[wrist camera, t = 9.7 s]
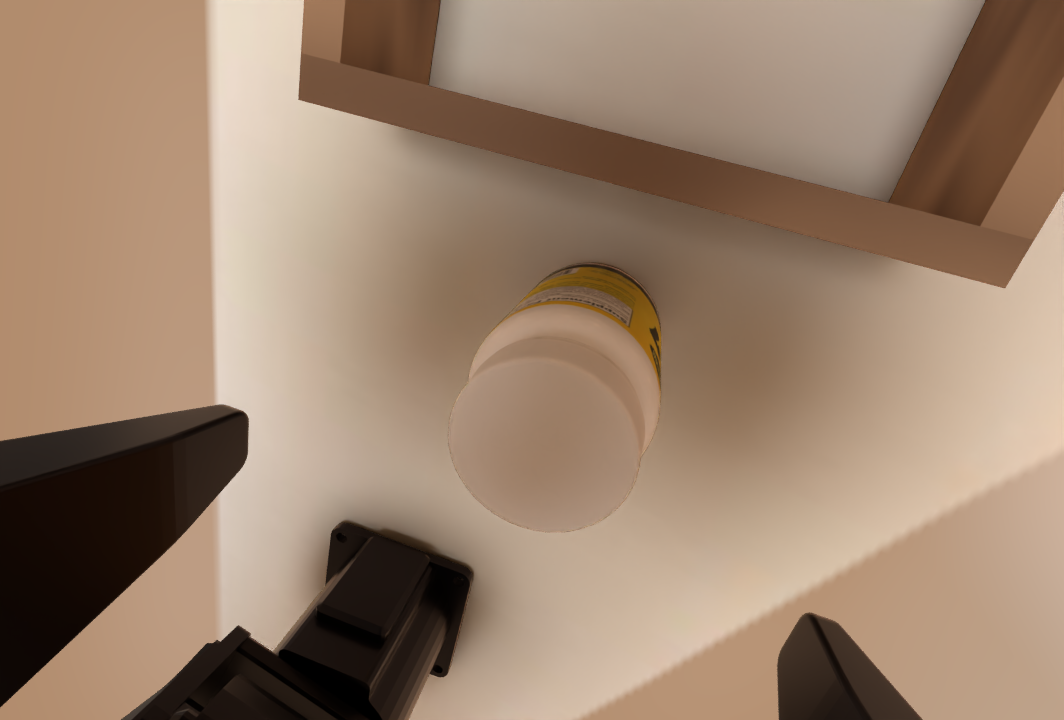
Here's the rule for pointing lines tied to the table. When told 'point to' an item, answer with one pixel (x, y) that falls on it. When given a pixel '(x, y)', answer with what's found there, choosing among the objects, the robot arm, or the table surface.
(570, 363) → the supplement bottle
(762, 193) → the walnut box
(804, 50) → the table surface
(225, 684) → the robot arm
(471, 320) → the table surface
